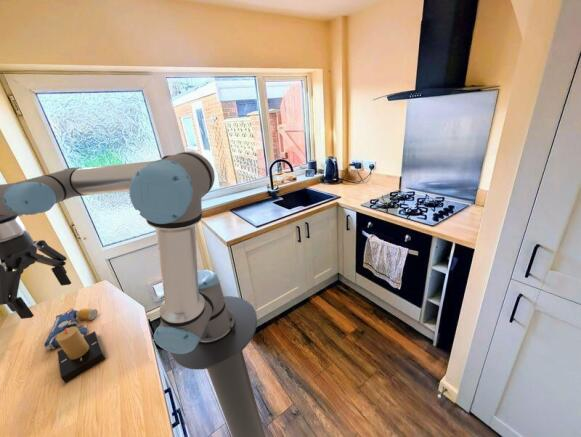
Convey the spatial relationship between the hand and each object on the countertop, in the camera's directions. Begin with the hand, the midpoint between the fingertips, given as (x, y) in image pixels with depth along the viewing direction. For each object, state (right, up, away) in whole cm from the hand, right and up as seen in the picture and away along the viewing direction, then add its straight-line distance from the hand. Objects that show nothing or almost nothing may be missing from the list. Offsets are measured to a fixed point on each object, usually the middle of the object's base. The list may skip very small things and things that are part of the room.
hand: (48, 299), depth 72 cm
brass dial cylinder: (-1, -22, +12) cm, 25 cm away
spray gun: (-15, -20, +26) cm, 37 cm away
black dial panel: (-1, -25, +13) cm, 28 cm away
